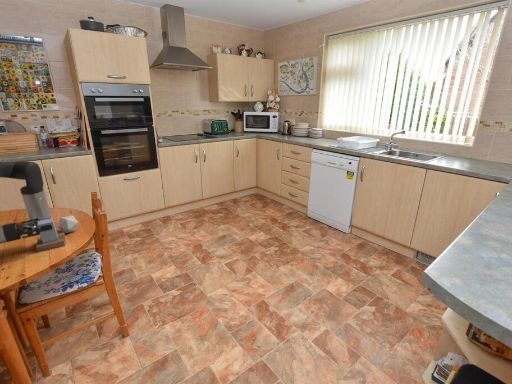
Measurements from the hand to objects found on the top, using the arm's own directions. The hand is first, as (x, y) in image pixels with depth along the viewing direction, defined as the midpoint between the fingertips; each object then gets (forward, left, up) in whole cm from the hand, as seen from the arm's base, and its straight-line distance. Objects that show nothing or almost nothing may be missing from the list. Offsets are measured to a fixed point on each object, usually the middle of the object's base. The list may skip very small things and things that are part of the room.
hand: (51, 223), depth 123 cm
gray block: (0, -2, -8) cm, 8 cm away
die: (-11, +4, -10) cm, 15 cm away
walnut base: (0, -2, -11) cm, 11 cm away
